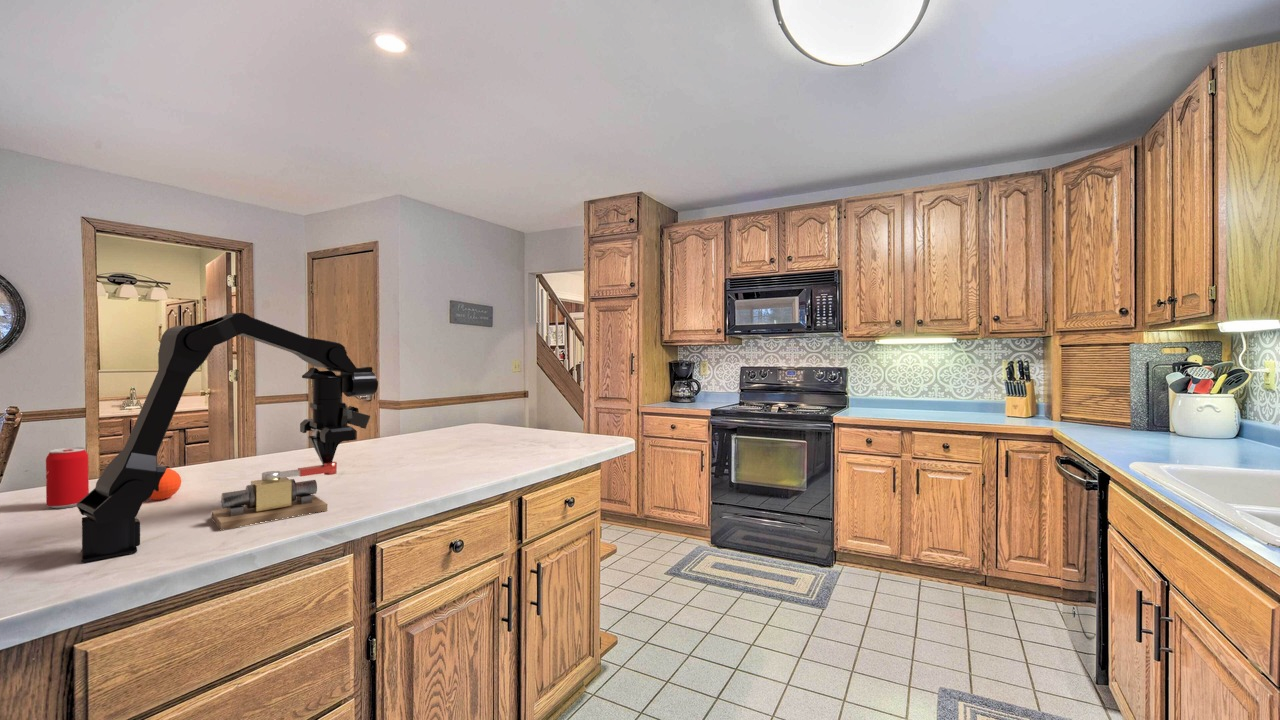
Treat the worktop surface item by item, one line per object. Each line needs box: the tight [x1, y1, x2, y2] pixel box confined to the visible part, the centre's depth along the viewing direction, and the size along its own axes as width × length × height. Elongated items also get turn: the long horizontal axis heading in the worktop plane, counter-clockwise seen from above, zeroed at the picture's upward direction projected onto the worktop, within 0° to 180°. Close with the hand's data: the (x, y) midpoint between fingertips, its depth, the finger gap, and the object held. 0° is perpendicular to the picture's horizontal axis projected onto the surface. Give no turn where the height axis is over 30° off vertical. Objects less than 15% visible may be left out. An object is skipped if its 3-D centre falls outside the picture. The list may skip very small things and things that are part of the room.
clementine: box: [149, 467, 182, 501], centre depth 120 cm, size 8×7×7 cm
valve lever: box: [261, 461, 338, 481], centre depth 115 cm, size 14×3×2 cm, turn 136°
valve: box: [220, 477, 318, 517], centre depth 111 cm, size 16×5×6 cm, turn 136°
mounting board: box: [211, 494, 328, 531], centre depth 111 cm, size 18×10×2 cm, turn 136°
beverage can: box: [45, 446, 90, 509], centre depth 115 cm, size 6×6×12 cm
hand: (327, 468), depth 120 cm, fingers closed
